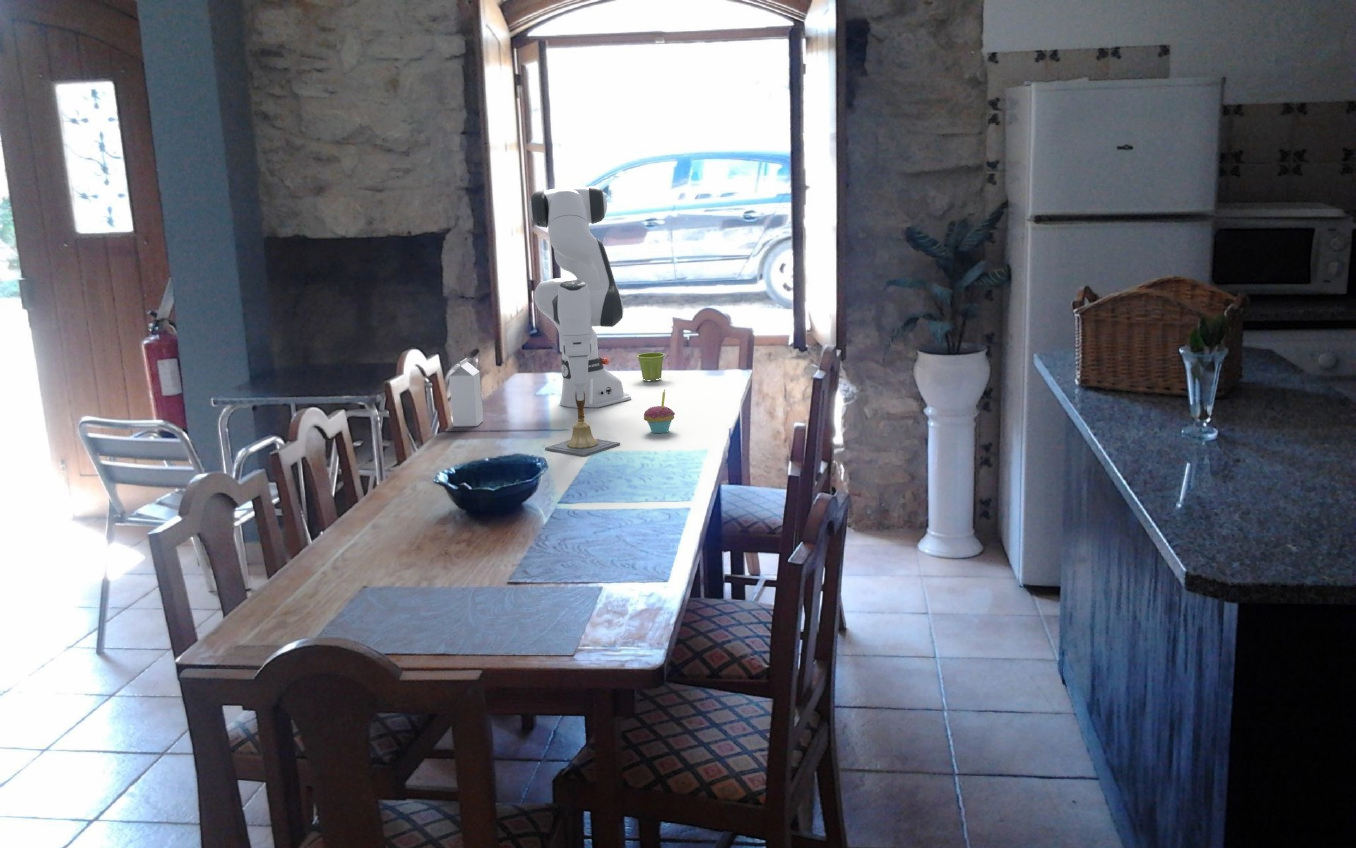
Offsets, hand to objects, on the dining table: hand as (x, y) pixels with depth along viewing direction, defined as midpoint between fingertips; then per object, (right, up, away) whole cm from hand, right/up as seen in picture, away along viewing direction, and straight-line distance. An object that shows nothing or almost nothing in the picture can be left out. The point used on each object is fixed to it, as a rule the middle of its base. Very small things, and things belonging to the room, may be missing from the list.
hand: (579, 396), depth 304 cm
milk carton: (-36, -7, +36) cm, 51 cm away
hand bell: (+1, -13, +3) cm, 13 cm away
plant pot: (+17, +8, +91) cm, 93 cm away
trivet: (0, -13, +3) cm, 14 cm away
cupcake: (+21, -9, +17) cm, 29 cm away
